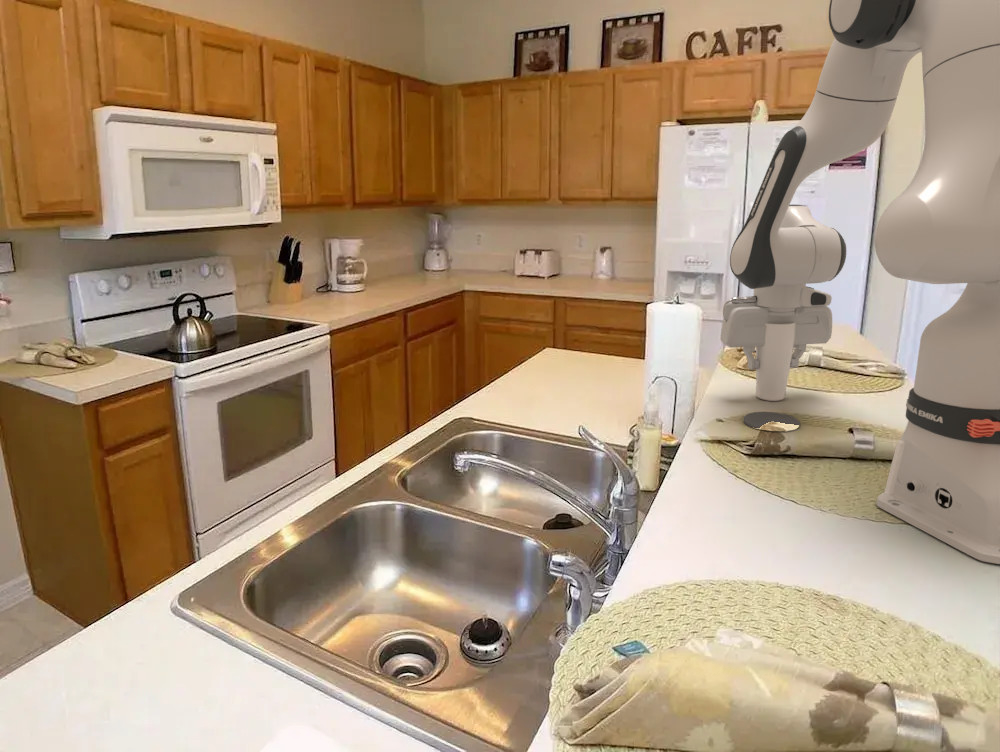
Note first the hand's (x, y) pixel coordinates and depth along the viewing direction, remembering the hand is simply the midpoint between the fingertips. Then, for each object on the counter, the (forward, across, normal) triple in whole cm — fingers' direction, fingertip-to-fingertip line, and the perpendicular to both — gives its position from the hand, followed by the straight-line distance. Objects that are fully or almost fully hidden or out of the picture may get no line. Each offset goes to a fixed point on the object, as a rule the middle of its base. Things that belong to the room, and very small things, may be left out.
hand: (772, 367), depth 130 cm
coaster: (+6, -7, -14) cm, 17 cm away
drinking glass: (+6, 0, 0) cm, 6 cm away
